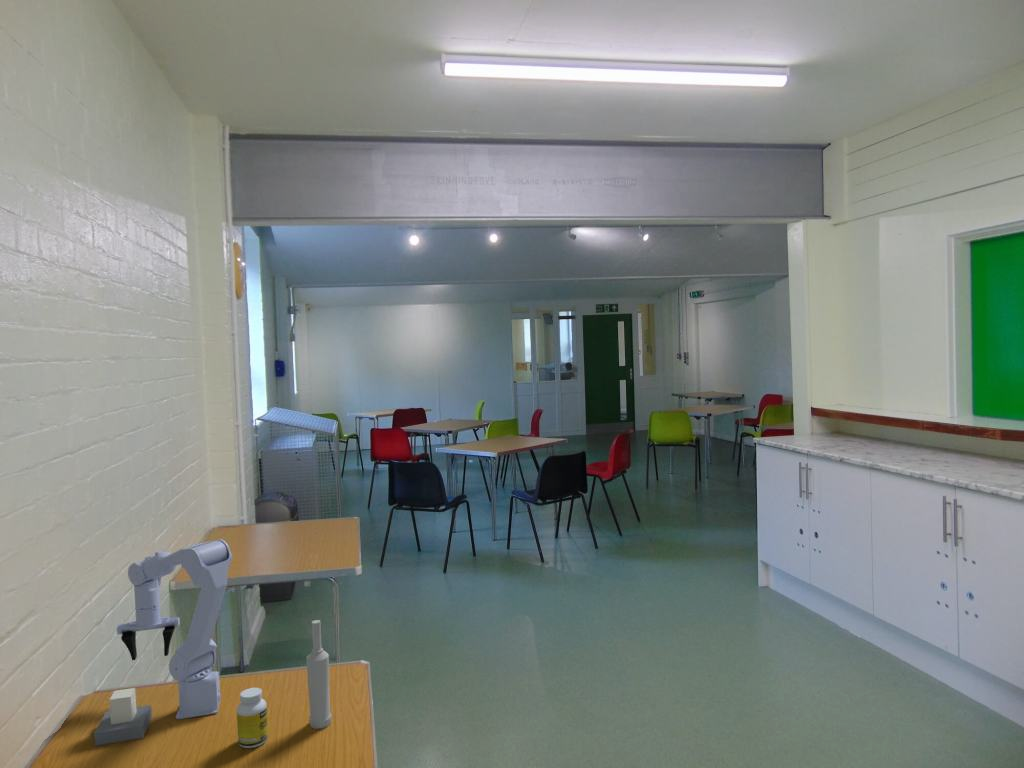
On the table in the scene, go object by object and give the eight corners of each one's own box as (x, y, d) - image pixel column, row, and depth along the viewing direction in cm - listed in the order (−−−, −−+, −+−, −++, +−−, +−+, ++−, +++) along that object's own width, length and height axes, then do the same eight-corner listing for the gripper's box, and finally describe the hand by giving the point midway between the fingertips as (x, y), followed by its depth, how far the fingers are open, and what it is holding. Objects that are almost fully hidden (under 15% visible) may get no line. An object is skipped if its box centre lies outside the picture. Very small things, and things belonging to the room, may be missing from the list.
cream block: (136, 711, 173) (135, 687, 172) (132, 721, 168) (130, 696, 168) (115, 715, 171) (114, 690, 171) (110, 724, 167) (109, 699, 167)
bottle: (336, 722, 171) (331, 621, 169) (317, 731, 167) (312, 627, 166) (324, 715, 174) (319, 615, 173) (305, 724, 171) (300, 622, 169)
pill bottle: (258, 750, 160) (255, 700, 159) (232, 748, 161) (229, 698, 161) (273, 735, 166) (271, 686, 166) (248, 732, 168) (246, 684, 167)
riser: (151, 716, 176) (151, 704, 176) (143, 737, 166) (142, 725, 166) (106, 723, 173) (105, 711, 173) (95, 745, 164) (94, 733, 164)
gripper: (180, 597, 191) (183, 646, 192) (120, 603, 187) (123, 654, 188) (175, 606, 185) (178, 657, 185) (113, 613, 181) (116, 665, 181)
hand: (150, 656), depth 186 cm, fingers open, 7 cm apart
